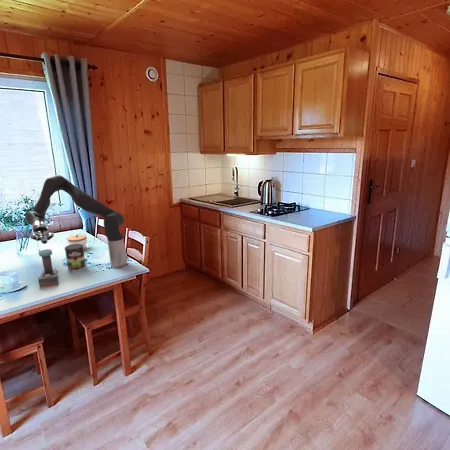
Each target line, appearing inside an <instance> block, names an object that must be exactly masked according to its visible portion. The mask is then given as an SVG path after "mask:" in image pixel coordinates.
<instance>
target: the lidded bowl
mask: <svg viewBox="0 0 450 450" xmlns="http://www.w3.org/2000/svg"><path fill="white" fill-rule="evenodd" d="M87 238H88V237H87V235H86V234H75V235H72V236H69V237H68V238H67V242H68V243H67V244H68V246H69V245H73V244H82V245H83V249H85V248H86V247H87V243H88V239H87Z"/></svg>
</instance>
